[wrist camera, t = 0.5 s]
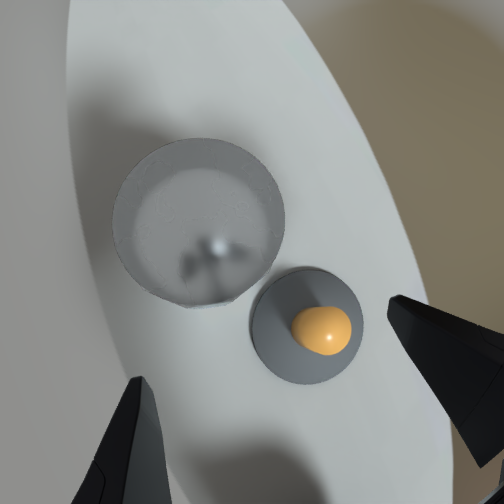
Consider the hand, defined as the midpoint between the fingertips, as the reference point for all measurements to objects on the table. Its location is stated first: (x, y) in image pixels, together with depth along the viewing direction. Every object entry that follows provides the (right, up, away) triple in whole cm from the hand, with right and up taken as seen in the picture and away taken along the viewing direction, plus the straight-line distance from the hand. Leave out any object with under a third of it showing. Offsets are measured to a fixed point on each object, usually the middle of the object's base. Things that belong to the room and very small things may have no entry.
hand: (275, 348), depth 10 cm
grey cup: (-4, +2, +14) cm, 15 cm away
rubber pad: (+4, -3, +14) cm, 15 cm away
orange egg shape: (+4, -3, +13) cm, 14 cm away
